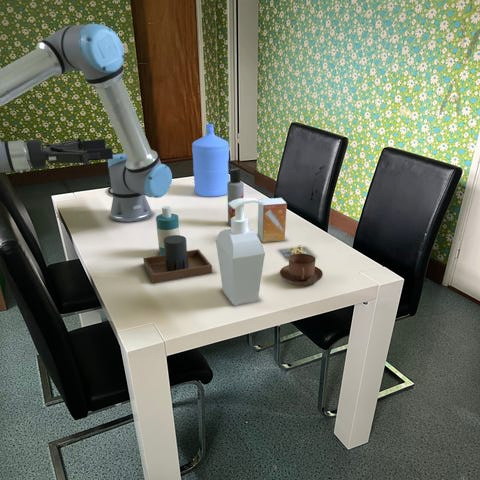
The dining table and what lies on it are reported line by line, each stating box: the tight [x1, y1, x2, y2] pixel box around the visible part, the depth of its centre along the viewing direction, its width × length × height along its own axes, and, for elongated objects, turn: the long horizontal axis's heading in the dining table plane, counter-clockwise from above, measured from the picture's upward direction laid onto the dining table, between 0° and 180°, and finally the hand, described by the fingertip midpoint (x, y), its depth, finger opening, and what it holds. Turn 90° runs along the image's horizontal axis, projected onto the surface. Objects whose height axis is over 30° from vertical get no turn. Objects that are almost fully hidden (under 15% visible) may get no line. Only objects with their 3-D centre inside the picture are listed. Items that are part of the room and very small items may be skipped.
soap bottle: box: [215, 197, 266, 306], centre depth 117 cm, size 12×10×26 cm
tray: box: [142, 248, 213, 284], centre depth 137 cm, size 13×17×2 cm
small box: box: [257, 197, 288, 243], centre depth 155 cm, size 8×6×13 cm
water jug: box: [191, 123, 230, 198], centre depth 198 cm, size 16×16×28 cm
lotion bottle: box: [226, 167, 244, 227], centre depth 165 cm, size 6×6×20 cm
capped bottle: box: [155, 205, 181, 255], centre depth 144 cm, size 7×7×15 cm
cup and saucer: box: [279, 253, 324, 286], centre depth 130 cm, size 12×12×6 cm
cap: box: [164, 234, 189, 271], centre depth 135 cm, size 6×6×9 cm
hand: (108, 148), depth 132 cm, fingers open, 13 cm apart
